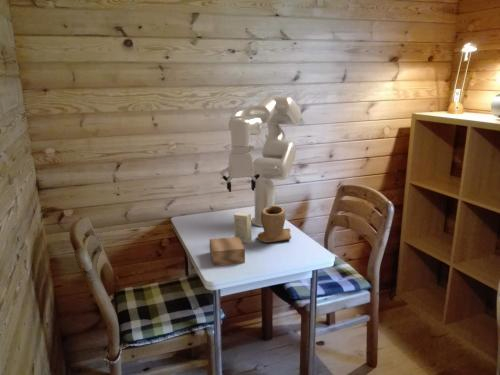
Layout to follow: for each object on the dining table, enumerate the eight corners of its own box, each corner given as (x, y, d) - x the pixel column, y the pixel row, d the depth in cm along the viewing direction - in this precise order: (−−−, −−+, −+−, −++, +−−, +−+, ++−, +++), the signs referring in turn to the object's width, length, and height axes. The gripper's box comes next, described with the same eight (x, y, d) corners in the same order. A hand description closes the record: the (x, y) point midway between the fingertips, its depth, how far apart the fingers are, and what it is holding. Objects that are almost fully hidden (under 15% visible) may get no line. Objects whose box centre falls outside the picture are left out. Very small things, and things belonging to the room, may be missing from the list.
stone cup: (262, 247, 167) (262, 212, 163) (255, 236, 178) (255, 204, 174) (297, 243, 170) (298, 209, 166) (288, 233, 181) (288, 201, 178)
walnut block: (239, 250, 165) (239, 236, 163) (245, 263, 153) (244, 248, 152) (210, 253, 162) (209, 239, 161) (213, 266, 151) (212, 251, 149)
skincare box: (252, 240, 174) (251, 213, 171) (247, 243, 170) (247, 216, 167) (238, 237, 177) (238, 211, 174) (234, 241, 173) (233, 214, 170)
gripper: (259, 147, 168) (260, 187, 173) (218, 148, 165) (219, 189, 170) (263, 150, 161) (263, 191, 166) (220, 152, 158) (221, 194, 163)
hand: (241, 190), depth 168 cm, fingers open, 9 cm apart
